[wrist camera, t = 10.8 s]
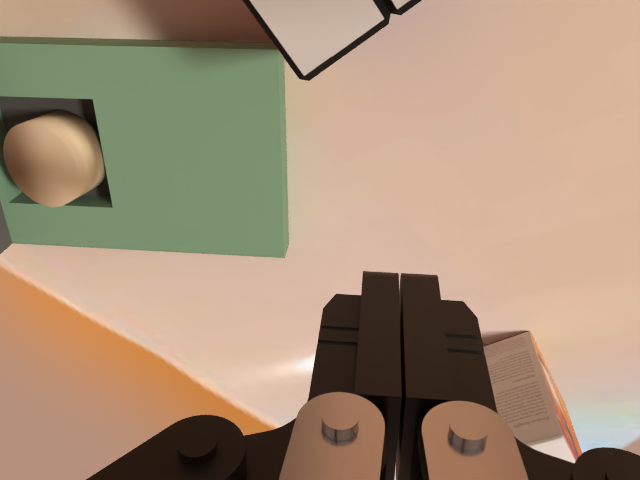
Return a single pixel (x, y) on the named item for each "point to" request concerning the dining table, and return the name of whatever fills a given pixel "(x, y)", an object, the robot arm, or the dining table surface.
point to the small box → (530, 397)
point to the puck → (54, 158)
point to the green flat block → (156, 143)
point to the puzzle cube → (322, 28)
